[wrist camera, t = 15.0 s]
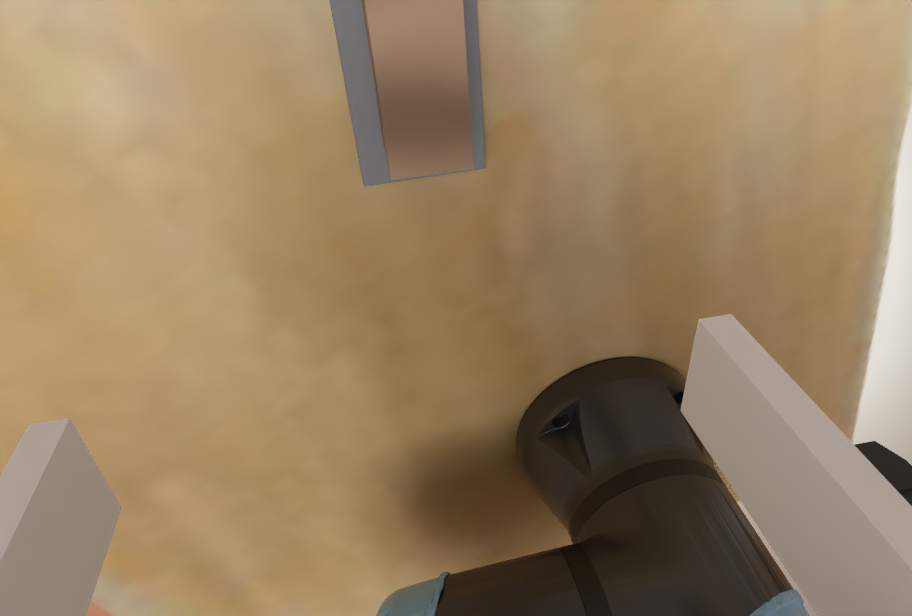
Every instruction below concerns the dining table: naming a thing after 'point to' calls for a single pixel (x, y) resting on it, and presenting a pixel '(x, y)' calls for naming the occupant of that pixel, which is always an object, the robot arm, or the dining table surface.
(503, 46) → the dining table surface
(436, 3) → the walnut bar
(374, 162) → the tool rest mat
